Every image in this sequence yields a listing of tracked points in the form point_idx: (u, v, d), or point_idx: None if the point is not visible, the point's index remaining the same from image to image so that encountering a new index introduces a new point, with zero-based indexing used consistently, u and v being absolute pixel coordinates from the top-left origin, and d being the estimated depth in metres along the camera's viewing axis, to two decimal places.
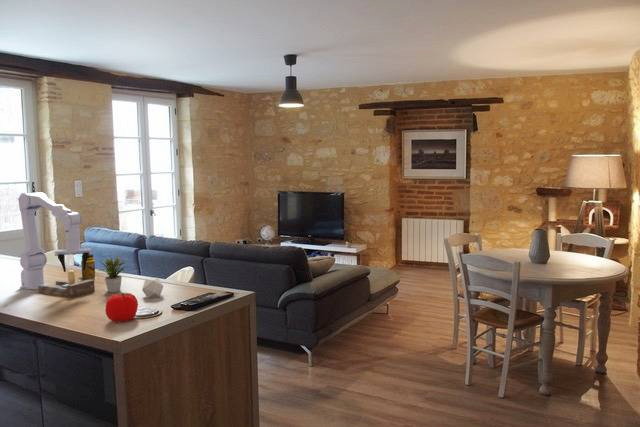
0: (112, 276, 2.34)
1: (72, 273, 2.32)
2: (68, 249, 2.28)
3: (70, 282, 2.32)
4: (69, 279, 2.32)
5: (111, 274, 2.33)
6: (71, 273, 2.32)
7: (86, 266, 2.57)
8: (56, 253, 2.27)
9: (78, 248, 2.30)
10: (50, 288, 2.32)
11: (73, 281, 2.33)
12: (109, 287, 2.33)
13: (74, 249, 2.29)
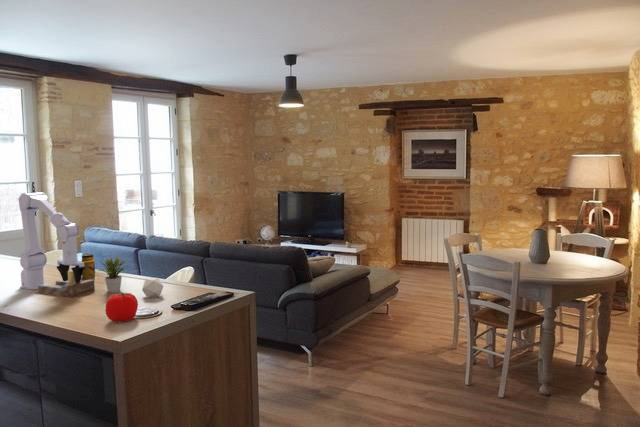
0: (112, 276, 2.34)
1: (72, 273, 2.32)
2: (63, 260, 2.31)
3: (70, 282, 2.32)
4: (69, 279, 2.32)
5: (111, 274, 2.33)
6: (71, 273, 2.32)
7: (86, 266, 2.57)
8: (58, 262, 2.34)
9: (70, 260, 2.30)
10: (50, 288, 2.32)
11: (73, 281, 2.33)
12: (109, 287, 2.33)
13: (65, 261, 2.30)
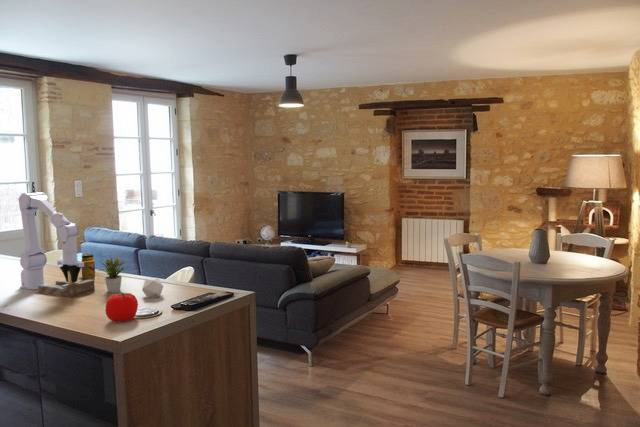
0: (112, 276, 2.34)
1: None
2: (63, 260, 2.31)
3: (70, 282, 2.32)
4: (69, 279, 2.32)
5: (111, 274, 2.33)
6: None
7: (86, 266, 2.57)
8: (58, 262, 2.34)
9: (70, 260, 2.30)
10: (50, 288, 2.32)
11: None
12: (109, 287, 2.33)
13: (65, 261, 2.30)
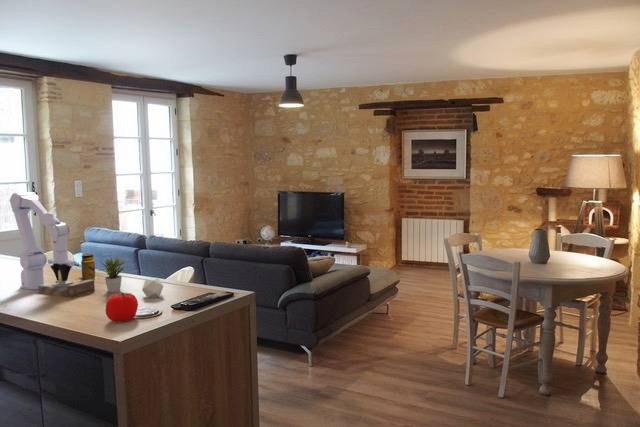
0: (112, 276, 2.34)
1: None
2: (53, 259, 2.34)
3: (60, 281, 2.35)
4: (59, 278, 2.34)
5: (111, 274, 2.33)
6: None
7: (86, 266, 2.57)
8: (48, 261, 2.37)
9: (60, 259, 2.32)
10: (50, 288, 2.32)
11: None
12: (109, 287, 2.33)
13: (56, 260, 2.32)
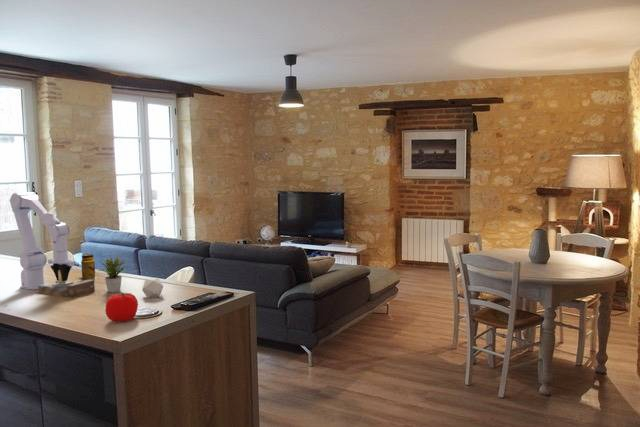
0: (112, 276, 2.34)
1: None
2: (53, 259, 2.34)
3: (60, 281, 2.35)
4: (59, 278, 2.34)
5: (111, 274, 2.33)
6: None
7: (86, 266, 2.57)
8: (48, 261, 2.37)
9: (60, 259, 2.32)
10: (50, 288, 2.32)
11: None
12: (109, 287, 2.33)
13: (56, 260, 2.32)
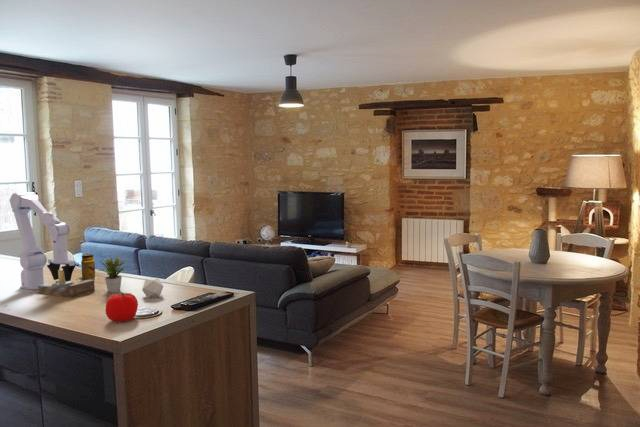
0: (112, 276, 2.34)
1: (62, 272, 2.35)
2: (53, 259, 2.34)
3: (60, 281, 2.35)
4: (59, 278, 2.34)
5: (111, 274, 2.33)
6: (61, 272, 2.34)
7: (86, 266, 2.57)
8: (48, 261, 2.37)
9: (60, 259, 2.32)
10: (50, 288, 2.32)
11: (63, 280, 2.35)
12: (109, 287, 2.33)
13: (56, 259, 2.32)
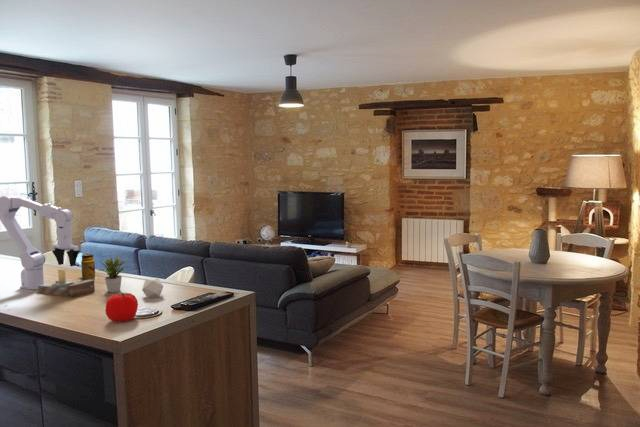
0: (112, 276, 2.34)
1: (62, 272, 2.35)
2: (58, 244, 2.40)
3: (60, 281, 2.35)
4: (59, 278, 2.34)
5: (111, 274, 2.33)
6: (61, 272, 2.34)
7: (86, 266, 2.57)
8: (53, 246, 2.43)
9: (65, 244, 2.39)
10: (50, 288, 2.32)
11: (63, 280, 2.35)
12: (109, 287, 2.33)
13: (61, 245, 2.39)
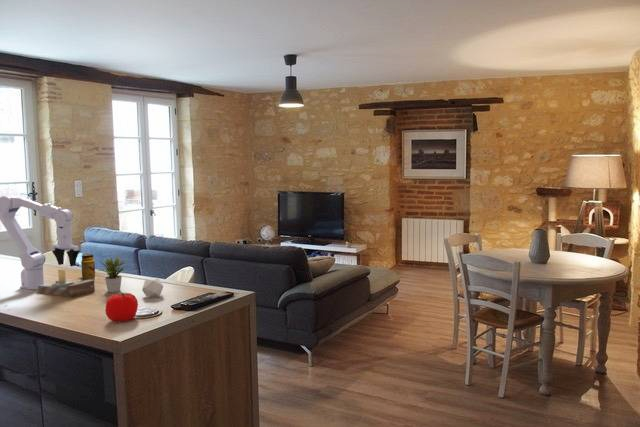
0: (112, 276, 2.34)
1: (62, 272, 2.35)
2: (58, 244, 2.40)
3: (60, 281, 2.35)
4: (59, 278, 2.34)
5: (111, 274, 2.33)
6: (61, 272, 2.34)
7: (86, 266, 2.57)
8: (53, 246, 2.43)
9: (65, 244, 2.39)
10: (50, 288, 2.32)
11: (63, 280, 2.35)
12: (109, 287, 2.33)
13: (61, 245, 2.39)
